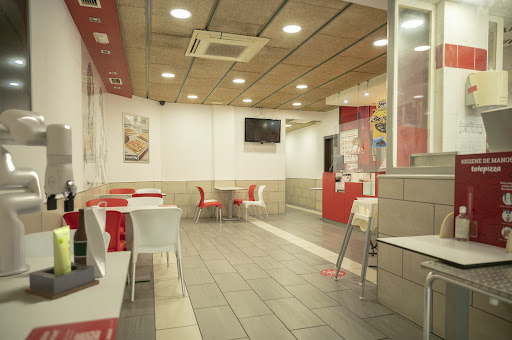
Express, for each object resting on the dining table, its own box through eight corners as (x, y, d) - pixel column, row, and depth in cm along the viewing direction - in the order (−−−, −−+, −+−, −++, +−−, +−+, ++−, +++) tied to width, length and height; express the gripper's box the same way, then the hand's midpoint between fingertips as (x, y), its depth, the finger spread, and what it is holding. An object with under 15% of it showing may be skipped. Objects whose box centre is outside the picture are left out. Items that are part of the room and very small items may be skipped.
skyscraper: (110, 271, 131) (108, 200, 130) (106, 277, 123) (104, 202, 123) (88, 273, 129) (86, 201, 128) (83, 279, 121) (81, 203, 121)
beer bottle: (75, 264, 142) (73, 208, 141) (95, 262, 145) (93, 207, 145) (73, 269, 134) (71, 210, 134) (94, 266, 138) (92, 208, 137)
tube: (72, 285, 112) (70, 227, 112) (54, 288, 110) (52, 229, 110) (70, 280, 117) (69, 225, 117) (53, 283, 114) (52, 226, 114)
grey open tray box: (24, 292, 110) (24, 273, 110) (71, 277, 124) (71, 260, 124) (53, 300, 102) (52, 280, 102) (99, 283, 117) (98, 266, 116)
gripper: (33, 161, 114) (34, 210, 114) (63, 160, 106) (64, 214, 106) (55, 161, 121) (56, 208, 121) (85, 160, 112) (86, 211, 113)
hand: (60, 210), depth 113 cm, fingers open, 9 cm apart
